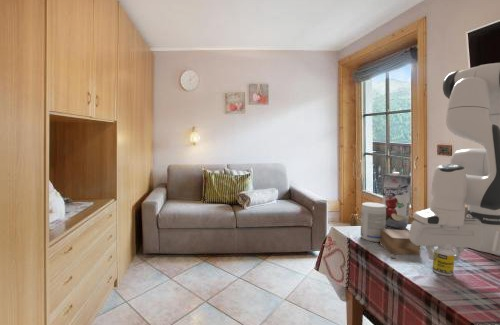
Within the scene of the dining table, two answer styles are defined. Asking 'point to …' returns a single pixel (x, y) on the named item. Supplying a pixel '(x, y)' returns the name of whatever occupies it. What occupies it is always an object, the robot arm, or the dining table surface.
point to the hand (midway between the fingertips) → (443, 259)
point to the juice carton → (397, 200)
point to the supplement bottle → (444, 260)
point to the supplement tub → (372, 221)
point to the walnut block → (398, 242)
